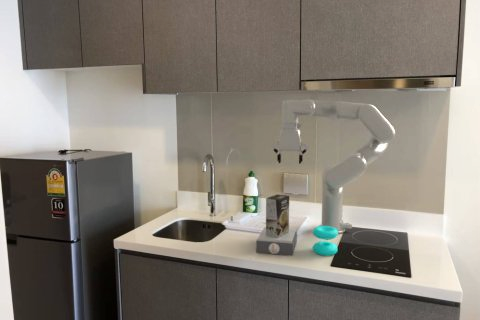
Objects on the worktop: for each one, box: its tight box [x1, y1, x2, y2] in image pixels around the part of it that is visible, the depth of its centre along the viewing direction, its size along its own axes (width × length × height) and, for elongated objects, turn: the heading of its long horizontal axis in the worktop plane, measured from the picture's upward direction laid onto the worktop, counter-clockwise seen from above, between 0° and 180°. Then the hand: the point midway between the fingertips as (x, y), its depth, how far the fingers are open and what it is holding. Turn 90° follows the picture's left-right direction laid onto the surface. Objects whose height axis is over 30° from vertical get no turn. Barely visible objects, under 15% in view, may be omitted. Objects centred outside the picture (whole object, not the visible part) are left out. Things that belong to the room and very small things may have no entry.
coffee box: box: [265, 193, 290, 238], centre depth 167 cm, size 9×6×16 cm
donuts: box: [312, 225, 339, 257], centre depth 163 cm, size 10×10×10 cm
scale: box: [255, 226, 298, 257], centre depth 168 cm, size 15×16×6 cm
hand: (289, 162), depth 187 cm, fingers open, 9 cm apart
